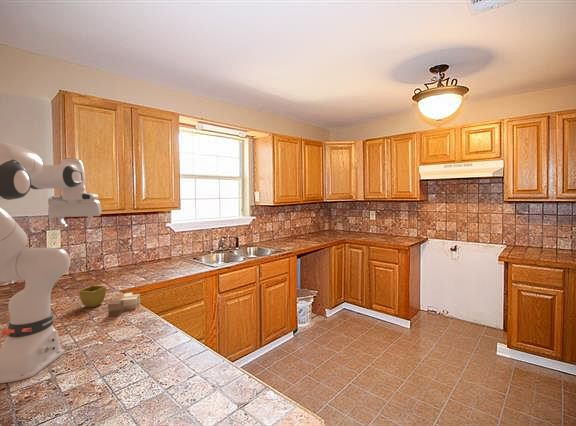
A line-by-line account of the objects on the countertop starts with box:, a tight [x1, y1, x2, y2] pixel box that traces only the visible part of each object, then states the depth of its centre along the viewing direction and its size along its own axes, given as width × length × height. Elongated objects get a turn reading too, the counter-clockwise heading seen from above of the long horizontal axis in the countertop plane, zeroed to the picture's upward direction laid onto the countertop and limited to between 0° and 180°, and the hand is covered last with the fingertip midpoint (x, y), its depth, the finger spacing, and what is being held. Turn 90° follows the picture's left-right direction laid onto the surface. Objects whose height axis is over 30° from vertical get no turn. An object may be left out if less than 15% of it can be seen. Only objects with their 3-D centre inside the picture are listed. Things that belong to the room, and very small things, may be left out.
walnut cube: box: [107, 299, 125, 317], centre depth 146 cm, size 5×5×6 cm
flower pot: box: [78, 285, 107, 308], centre depth 157 cm, size 9×9×9 cm
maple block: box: [120, 293, 141, 310], centre depth 155 cm, size 7×7×5 cm
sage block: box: [123, 292, 133, 297], centre depth 162 cm, size 4×4×4 cm
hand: (76, 226), depth 137 cm, fingers open, 8 cm apart
